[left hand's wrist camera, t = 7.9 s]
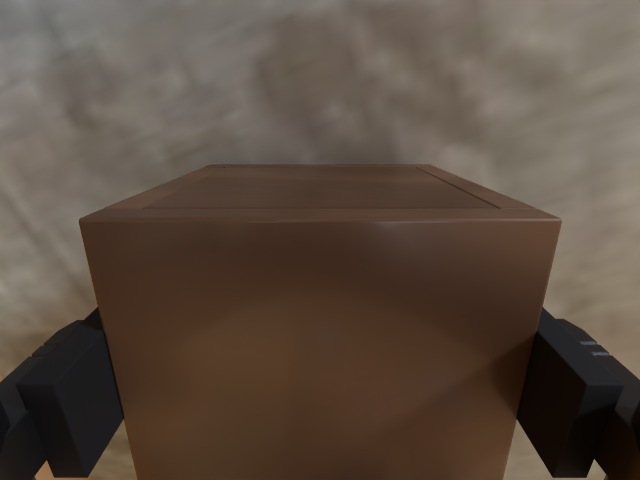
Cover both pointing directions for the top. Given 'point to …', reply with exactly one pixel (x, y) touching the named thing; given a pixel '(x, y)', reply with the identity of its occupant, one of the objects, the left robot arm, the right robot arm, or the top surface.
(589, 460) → the left robot arm
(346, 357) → the cabinet
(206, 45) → the top surface
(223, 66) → the top surface
